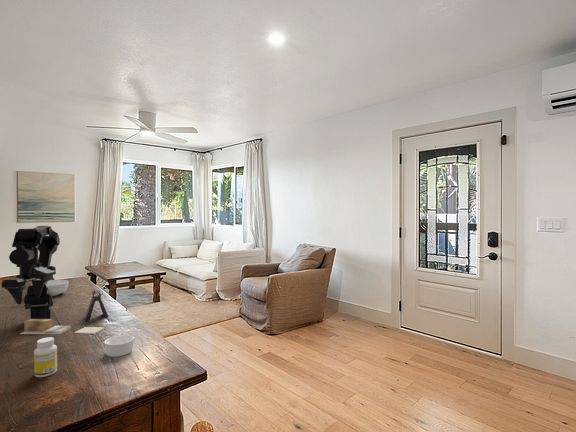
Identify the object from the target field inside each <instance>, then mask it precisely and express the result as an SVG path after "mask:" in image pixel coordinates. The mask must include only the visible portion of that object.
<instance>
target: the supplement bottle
mask: <svg viewBox="0 0 576 432" xmlns="http://www.w3.org/2000/svg"><path fill="white" fill-rule="evenodd" d="M54 343H55V338H54V337H51V336H49V337H43V338H39V339H38V340H37V341H36V348H35V349H34V351H33V361H34V362H33V365H34V367H33V368H34V370H33V372H34V377H36V378H44V377H49V376H52V375H53V374H55V373H56V372H58V346H57V345H56V344H54Z"/></svg>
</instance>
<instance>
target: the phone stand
mask: <svg viewBox="0 0 576 432" xmlns="http://www.w3.org/2000/svg"><path fill="white" fill-rule="evenodd" d="M96 292H97V293H96ZM91 294H92V297H91V300H90V302H89V305H88V307H87V310H86V311H85V313H84V321H85V322H86V321H90V320H91V317H92V314H93V310H94V306H95V303H96V302H98V303H99V307H100V310H101V312H102V313H101V314H102V317H103V318H104V319H107V318H109V314H108V312H107V309H106V306H104V305H105V304H104V303H103V301H102V299H101V298H102V297H101V296H102V293H101V291H100V289H97V290H95V289H94V290H93V291H91ZM96 294H98V295H96Z"/></svg>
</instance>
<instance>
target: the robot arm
mask: <svg viewBox="0 0 576 432" xmlns="http://www.w3.org/2000/svg"><path fill="white" fill-rule="evenodd" d="M60 240H61V239H60V236H59V233H58V232H56V231H55V230H53V228H52V227H51V226H50V225H38V226H35V227H33V228H19V229H18V230H17V231H16V232H15V235H14V237H13V242H12V244H11V248H15V249H13V250H12V251H11V252H10V253H9V256H8V258H9V261H10V263H12V264H14V265H15V266H16V268H18V269H19V273H18V274H16V277H10V278H5V279H3V280H2V281H1V283H0V286H1V288H3V289H4V290H7V292H8V293H9V294H10V295H11V296H12V298H13V299H14V301H15V303H16V304H17V305H22V301H24V302H23V303H24V308H25V310H29V319H52V318H51V316H52V315H51V314H52V313H51V312H52V311H51V307H53V306H54V298H53V296H52V295H51V293H50V290H49V288H48V287H47V282H48V281H51V280H53V279H54V275H56V274H57V272H56V271H57V269H56V266H55V265H51V262H52V258H53V257H52V256H53V254H54V253H56V252H57V251H58V247H59V246H60V244H61V243H60V242H61V241H60ZM27 282H31V285H29V286H27V285H26V284H27ZM25 285H26V286H25ZM26 288H27V291H26V294H24V299H23V291H24V290H25V289H26Z"/></svg>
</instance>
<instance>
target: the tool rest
mask: <svg viewBox="0 0 576 432" xmlns="http://www.w3.org/2000/svg"><path fill="white" fill-rule="evenodd" d="M71 328H72V326H71ZM71 328H69V329H68V330H70V329H71ZM62 333H64V332H62ZM62 333H45V332H25V331H22V332H20V333H19V335H61V334H62Z"/></svg>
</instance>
